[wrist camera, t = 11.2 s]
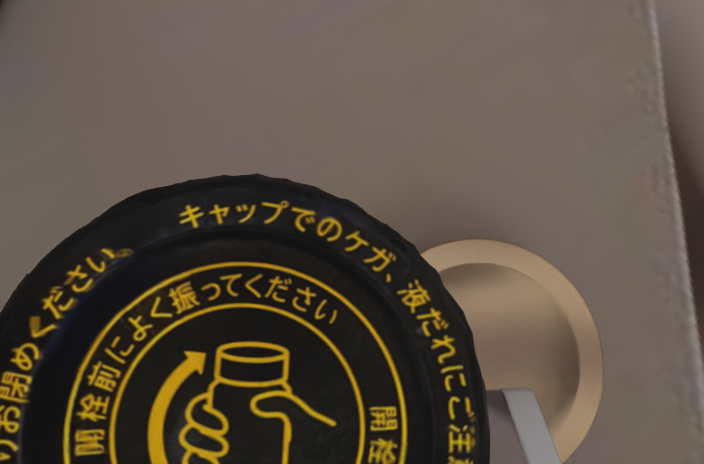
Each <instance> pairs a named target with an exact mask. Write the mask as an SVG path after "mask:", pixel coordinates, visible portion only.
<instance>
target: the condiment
mask: <svg viewBox="0 0 704 464" xmlns="http://www.w3.org/2000/svg"><path fill="white" fill-rule="evenodd" d="M0 464H490V425H489V416H488V408H487V396H486V388H485V382H484V380H483V377H482V373H481V369H480V366H479V363H478V359H477V356H476V353H475V346H474V339H473V332H472V330H471V328H470V326H469V324H468V322H467V319H466V317H465V314H464V311H463V310H462V309H461V307H460V306H459V305H458V303H457V302H456V301H455V299H454V298H453V297H452V295H451V294H450V293H449V292H448V290H447V289H446V288H445V287H444V285H443V282H442V279H441V277H440V275H439V273H438V272H437V270H436V269H435V268H434V267H432V266H431V265H430V264H429V263H428V262H427V261H426V260H425V259H424V258H423V257H422V256H421V255H420V253H419V252H418V250H417V249H416V247H415V246H414V244H412V243H410V242H409V241H407V240H406V239H404V238H403V237H402V236H401V235H400V234H399V233H398V232H396V231H395V230H393V229H392V228H390V227H389V226H388V225H387V224H384V223H382V222H380V221H379V220H377V219H376V218H374V217H372V216H371V215H369V214H367V213H366V212H365V211H364V210H363V209H362V208H361V207H360V206H358V205H357V204H355V203H353V202H351V201H349V200H347V199H341V198H338V197H336V196H334V195H331V194H329V193H327V192H324V191H323V190H321V189H319V188H317V187H315V186H310V185H306V184H301V183H296V182H293V181H290V180H288V179H281V178H270V177H267V176H264V175H260V174H252V175H240V176H228V175H222V176H216V177H210V178H204V179H196V180H189V181H186V182H183V183H177V184H173V185H170V186H165V187H159V188H154V189H149V190H145V191H142V192H140V193H137V194H135V195H133V196H130V197H128V198H126V199H124V200H122V201H121V202H119V203H117V204H116V205H114V206H112V207H111V208H109V209H108V210H107V211H106V212H104V213H103V214H102V215H100V216H99V217H96V218H95V219H94V220H92V221H91V222H90V223H89V224H87V225H86V226H84V227H82V228H80V229H78V230H77V231H75V232H74V233H73V234H71V235H70V236H69V237H67V238H65V240H63V241H62V242H61V243H60V244H59V245H57V246H56V247H55V248H54V249H53V250H51V251H50V252H49V253H48V254H47V255H46V256H45V257H44V258H43V259H42V260H41V261H40V262H39V263H38V265H37V266H36V267H35V268H34V269H33V270H32V271H31V273H30V274H27V275H26V276H25V278H24V279H23V280H22V281H21V283H20V284H19V285H18V286H17V289H16V290H15V291H14V292H13V293H12V295H11V297H10V298H9V300H8V302H7V303H6V305H5V306H4V308H3V310H2V311H1V313H0Z"/></svg>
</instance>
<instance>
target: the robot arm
mask: <svg viewBox="0 0 704 464" xmlns="http://www.w3.org/2000/svg"><path fill="white" fill-rule="evenodd" d="M486 396H487V408H488V416H489V425H490V464H562V462H561V460H560V457H559V455H558V452H557V450H556V447H555V444H554V442H553V439H552V437H551V434H550V432H549V429H548V427H547V424H546V422H545V419H544V417H543V414H542V412H541V409H540V407H539V404H538V402H537V399H536V397H535V394H534V392H533V391H532V390H531V389H530V388H505V389H497V388H494V389H486Z"/></svg>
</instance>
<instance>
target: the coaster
mask: <svg viewBox="0 0 704 464" xmlns="http://www.w3.org/2000/svg"><path fill="white" fill-rule="evenodd" d="M420 255H421V256H422V257H423V258H424V259H425V260H426V261H427V262H428V263H429V264H430V265H431V266H432V267H434V268H435V269H436V270H437V272H438V273H439V275H440V277H441V279H442V282H443V285H444V287H445V288H446V289H447V290H448V292H449V293H450V294H451V295H452V297H453V298H454V299H455V301H456V302H457V303H458V305H459V306H460V307H461V309H462V310H463V311H464V314H465V317H466V319H467V322H468V324H469V326H470V328H471V330H472V332H473V339H474V346H475V353H476V356H477V359H478V363H479V366H480V369H481V373H482V377H483V380H484V382H485V388H486V389H494V388H497V389H505V388H530V389H531V390H532V391H533V392H534V394H535V397H536V399H537V402H538V404H539V407H540V409H541V412H542V414H543V417H544V419H545V422H546V424H547V427H548V429H549V432H550V434H551V437H552V439H553V442H554V444H555V447H556V450H557V452H558V455H559V457H560V460H561V462H562V464H563V463H564V462H565V461H566V460H567V459H568V458H569V457H570V456H571V455H572V454H573V453H574V452H575V451H576V449H577V448H578V447H579V445H580V444H581V442H582V441H583V440H584V438H585V437H586V435H587V433H588V431H589V429H590V427H591V425H592V423H593V421H594V418H595V416H596V413H597V410H598V407H599V403H600V399H601V394H602V388H603V377H604V366H603V354H602V347H601V341H600V338H599V334H598V331H597V327H596V325H595V322H594V320H593V317H592V315H591V313H590V311H589V309H588V307H587V305H586V304H585V302H584V300H583V298H582V297H581V295H580V294H579V293H578V291H577V290H576V289H575V287H574V286H573V285H572V283H571V282H570V281H569V280H568V279H567V278H566V277H565V276H564V275H563V274H562V273H561V272H560V271H559V270H557V269H556V268H555V267H554V266H553V265H551V264H550V263H549V262H547V261H546V260H544V259H543V258H541V257H539V256H538V255H536V254H535V253H532V252H530V251H528V250H526V249H524V248H522V247H519V246H516V245H513V244H510V243H507V242H502V241H496V240H491V239H464V240H457V241H452V242H447V243H444V244H441V245H438V246H435V247H432V248H430V249H428V250H426V251H424V252H422V253H420Z"/></svg>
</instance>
